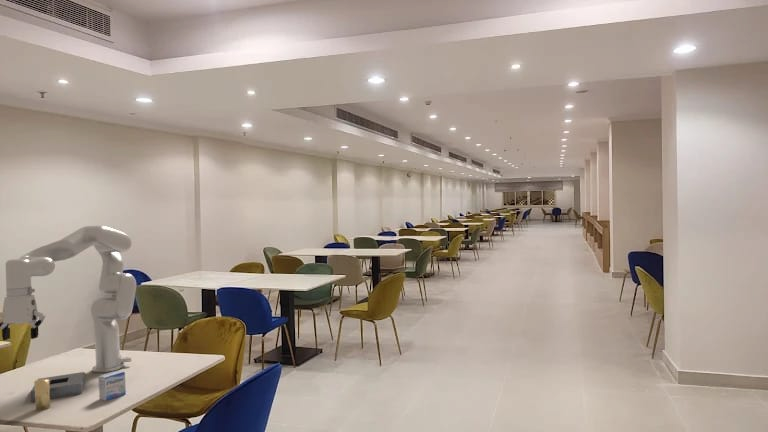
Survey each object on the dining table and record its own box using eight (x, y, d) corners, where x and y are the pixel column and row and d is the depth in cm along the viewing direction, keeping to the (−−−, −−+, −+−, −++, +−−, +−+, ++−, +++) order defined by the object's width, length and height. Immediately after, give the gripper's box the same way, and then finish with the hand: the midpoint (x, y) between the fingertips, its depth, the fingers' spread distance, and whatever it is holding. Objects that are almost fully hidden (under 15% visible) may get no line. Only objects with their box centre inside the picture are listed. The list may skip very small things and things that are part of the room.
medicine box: (105, 401, 188) (104, 377, 188) (99, 399, 190) (97, 375, 190) (126, 394, 194) (125, 371, 194) (119, 392, 197) (118, 369, 197)
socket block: (84, 381, 211) (84, 371, 211) (81, 393, 196) (80, 383, 196) (38, 388, 204) (38, 378, 204) (31, 401, 189) (30, 391, 189)
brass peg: (51, 405, 186) (50, 377, 185) (49, 409, 182) (48, 381, 181) (36, 407, 184) (35, 379, 183) (34, 411, 180) (33, 383, 179)
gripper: (49, 290, 193) (50, 335, 194) (0, 292, 192) (2, 337, 192) (37, 293, 186) (39, 340, 186) (-13, 295, 184) (-12, 342, 184)
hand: (20, 338), depth 189 cm, fingers open, 9 cm apart
